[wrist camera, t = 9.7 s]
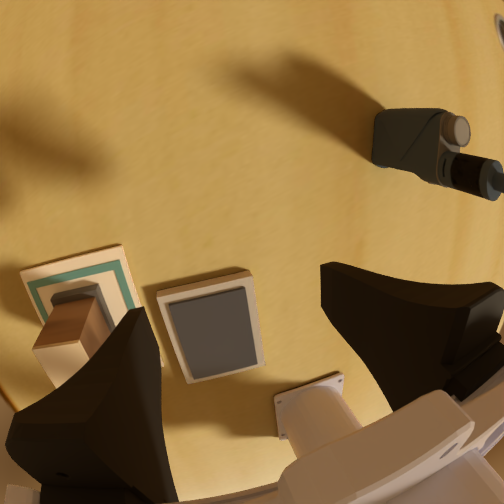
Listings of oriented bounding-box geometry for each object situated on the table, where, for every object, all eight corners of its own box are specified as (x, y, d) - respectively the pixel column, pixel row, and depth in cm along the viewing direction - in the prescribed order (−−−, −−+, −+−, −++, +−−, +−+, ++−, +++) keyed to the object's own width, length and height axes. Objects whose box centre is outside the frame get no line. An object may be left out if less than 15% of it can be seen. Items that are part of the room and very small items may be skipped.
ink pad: (262, 358, 26) (266, 367, 25) (186, 376, 24) (187, 386, 23) (249, 270, 22) (253, 277, 21) (156, 291, 21) (156, 299, 20)
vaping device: (368, 169, 22) (495, 205, 11) (373, 106, 20) (504, 107, 9) (391, 172, 23) (512, 208, 12) (397, 113, 21) (521, 121, 10)
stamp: (120, 338, 21) (112, 396, 16) (78, 345, 20) (62, 401, 15) (98, 283, 19) (78, 335, 14) (53, 293, 18) (25, 343, 13)
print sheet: (164, 364, 23) (164, 367, 23) (74, 378, 22) (73, 381, 21) (122, 244, 19) (121, 246, 19) (20, 270, 17) (18, 273, 17)
